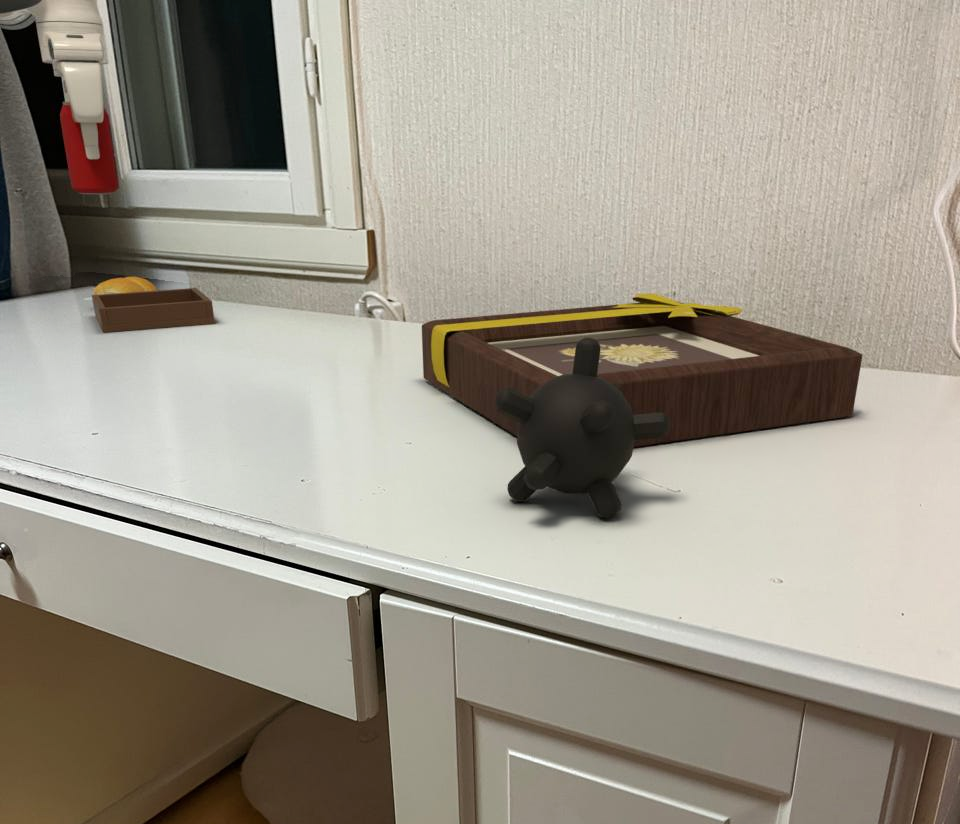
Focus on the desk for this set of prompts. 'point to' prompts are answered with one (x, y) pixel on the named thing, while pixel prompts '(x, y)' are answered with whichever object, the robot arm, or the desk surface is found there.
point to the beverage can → (84, 171)
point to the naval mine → (576, 433)
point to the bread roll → (124, 286)
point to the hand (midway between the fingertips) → (91, 158)
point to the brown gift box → (650, 364)
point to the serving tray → (152, 309)
